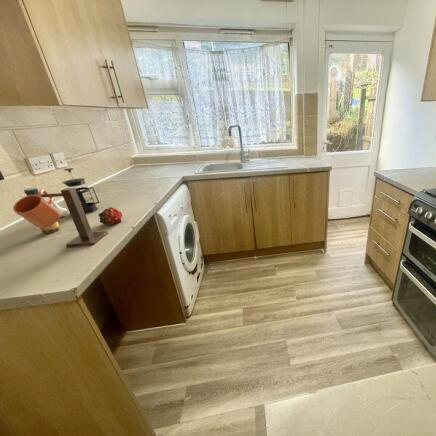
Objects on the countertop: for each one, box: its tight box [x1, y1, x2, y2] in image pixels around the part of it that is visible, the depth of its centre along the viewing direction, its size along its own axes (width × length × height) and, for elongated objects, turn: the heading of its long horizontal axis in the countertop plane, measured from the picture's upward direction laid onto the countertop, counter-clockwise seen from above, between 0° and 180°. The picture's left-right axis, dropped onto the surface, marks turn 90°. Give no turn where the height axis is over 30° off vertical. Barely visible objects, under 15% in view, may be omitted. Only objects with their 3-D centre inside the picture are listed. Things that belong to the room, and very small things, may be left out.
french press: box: [62, 167, 100, 215], centre depth 126 cm, size 12×9×23 cm
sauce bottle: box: [23, 187, 61, 234], centre depth 105 cm, size 6×6×20 cm
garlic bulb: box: [51, 200, 69, 218], centre depth 124 cm, size 6×6×8 cm
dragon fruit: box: [98, 206, 123, 226], centre depth 114 cm, size 8×8×12 cm
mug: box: [12, 188, 61, 229], centre depth 89 cm, size 12×8×9 cm
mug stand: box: [28, 187, 109, 249], centre depth 95 cm, size 19×10×22 cm, turn 97°
